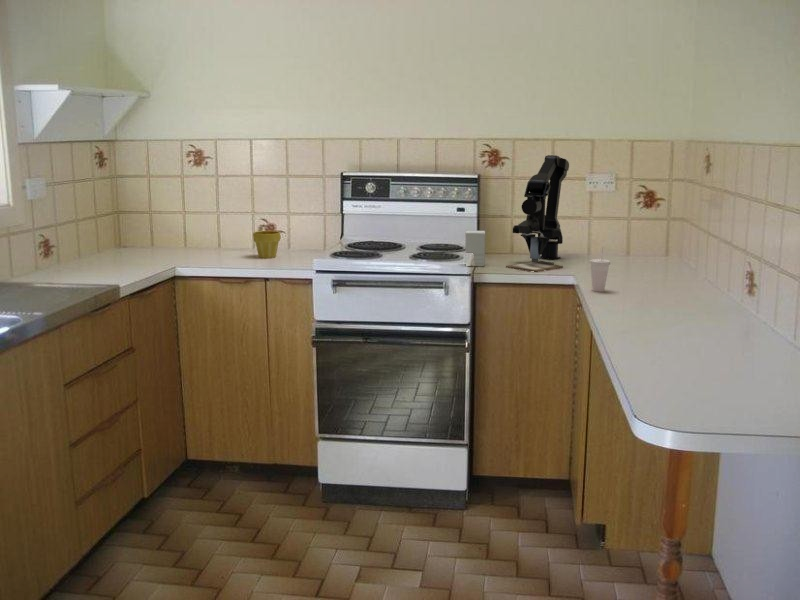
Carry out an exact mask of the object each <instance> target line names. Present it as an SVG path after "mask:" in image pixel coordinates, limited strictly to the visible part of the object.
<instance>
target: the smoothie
mask: <svg viewBox="0 0 800 600" xmlns="http://www.w3.org/2000/svg"><path fill="white" fill-rule="evenodd" d="M603 253H604V247H602V246H601V248H600V258H597V259H596V258H595V259H594V258H593V259H590V260H589V264H590V270H591V271H590V274H591V286H592V287H591V288H592V289H591V290H592V291H593V292H600V293H603V292H605V289H606V284H607V279H608V278H607V277H608V275H609V274H608V273H609V267H610V265H611V260H608V259H603Z"/></svg>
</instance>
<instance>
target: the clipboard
mask: <svg viewBox="0 0 800 600" xmlns="http://www.w3.org/2000/svg"><path fill="white" fill-rule="evenodd" d="M507 267H508V269H513V268H514V269H515V270H519V269H520V270H521V271H525V270H527V271H526V272H531V271H534V272H533V273H539V272H538V271H541V272H545V271H544V270H546V271H551V270H550V269H552V270H557V269H556V268H558V269H562V268H564V266H563V265H559V264H555V263H554V262H550V261H545V260H544V261H543V260H538V262H537V263H534V262H532V261H526V262H520V263H513V264H508V265H507V264H506V265H505V268H507Z"/></svg>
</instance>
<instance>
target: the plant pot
mask: <svg viewBox="0 0 800 600" xmlns="http://www.w3.org/2000/svg"><path fill="white" fill-rule="evenodd" d="M252 233H253V236H252V238H253V242H254V243H255V246H256V250H257V255H258V257H259V258H260V259H273V258H276V257H277V253H278V247H279V242H280V241H281V232H280V231H277V230H259V231H258V230H256V231H254V232H252Z"/></svg>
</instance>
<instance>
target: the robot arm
mask: <svg viewBox="0 0 800 600" xmlns="http://www.w3.org/2000/svg"><path fill="white" fill-rule="evenodd" d="M569 169H570V162H569V161H568V160H567V159H566V158H563V157H560V156H559V155H556V154H554V155H551V154H550V155H548V154H547V155H545V156H544V161H543V163H542V165H541V167H540V168H539V171H538V173H536V174H534V175H531V177H530V178H529V180H528V181H527V184H526V188H525V192H524V194H523V196H524V198H526V199H525V200H524V201H523V202H522V203H521V204H522V205H521V210H522V213H524V215H527V216H526V219H525V220H523V221H521V222H520V223H518V224H517V225H514V226H513V227H512V234H520V236H521V237H522V238H523V239H524V240H525V243H526V245H527V248H528V251H529V253H530V245H531V237H537V239H538V241H539V245H538V254H539V255H540V259H545V260H557V259H561V256H558V254H559V245H561V244H563V239H564V237H563V233H562V230H561V223H560V222H559V220H558V213H559V207H560V206H559V205H560V199H561V197H560V196H561V187H562V183H563V180H565V179H566V177H567V176H568V175H567V173H568V171H569ZM546 199H547V200H546ZM536 234H537V235H536Z"/></svg>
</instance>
